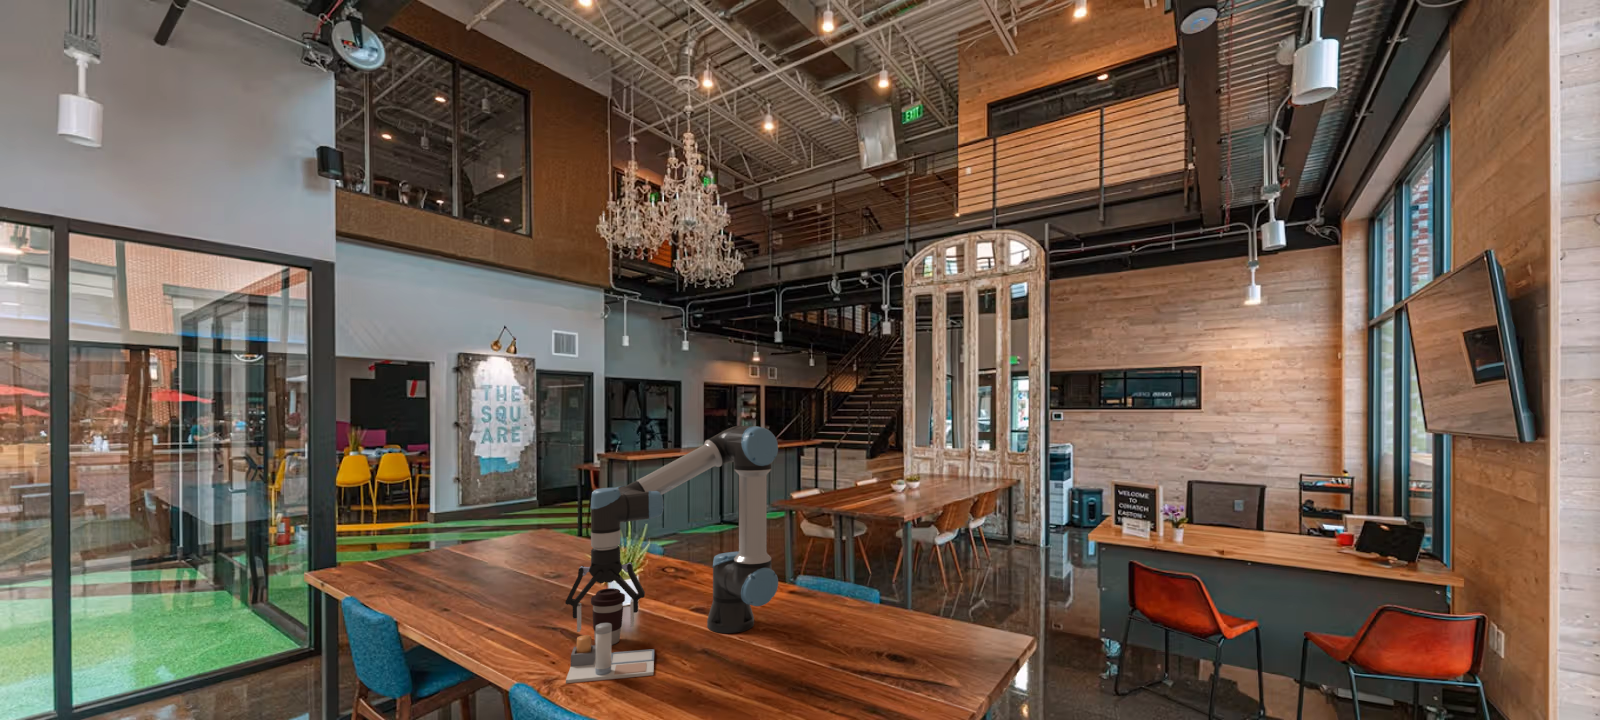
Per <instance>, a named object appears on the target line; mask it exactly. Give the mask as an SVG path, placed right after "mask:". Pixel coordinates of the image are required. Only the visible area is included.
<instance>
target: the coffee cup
mask: <svg viewBox="0 0 1600 720" xmlns="http://www.w3.org/2000/svg"><path fill="white" fill-rule="evenodd" d="M625 601H626V595H625V593H623V592H621V590H620V589H619V588H614V587H611V588H610V587H609V588H603V589H600V590H598V591H596V594H595V595H593V596H591V598H590V604H591V606H592V626H593V627H592V628H593V631H594V632H593V636H594V645H596V625H598V624H601V623H611V624H612V632H611V646H613V645H615V644H618V643H619V641H620V639H621V630H622V629H621V628H622V624H623V614H624V607H623V605H624V602H625Z"/></svg>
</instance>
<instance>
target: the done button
mask: <svg viewBox="0 0 1600 720" xmlns="http://www.w3.org/2000/svg"><path fill="white" fill-rule="evenodd" d="M591 645H592V636H591V635H589V634H587V635H585V634H584V635H580V636H577V638H576V647H577V654H578V653H590V652H591Z"/></svg>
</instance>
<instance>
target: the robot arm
mask: <svg viewBox="0 0 1600 720" xmlns="http://www.w3.org/2000/svg"><path fill="white" fill-rule="evenodd" d="M778 453H779V444H778V440H777V437H776V436H775V434H773V432H772V431H771V430H769V429H768V428H765V427H762V426H756V425H754V426H751V425H749V426H747V425H745V426H744V425H736V426H732V427H730V428H726V429H725V430H723V431H720V432H719V433H718V434H716V435H713V436H712V437H709V438H708V439H705V440H704V444H703V445H701V446H699V447H698V448H696V449H694V450H691V451H690V452H688V453H686V454H685V455H683V456H681V457H679V458H677V459H675V460H672V462H669V463H667V464H665V465H663V466H662V467H659V468H658V469H656V470H654V471H652V472H651V473H648V474H647V475H645V476H642V477H641V478H638V479H637V480H635V481H632V482H630V483H629V484H627V485H621V486H616V487H602V488H601V487H600V488H596V489H593V491H592V492H591V498H590V522H591V523H590V524H591V527H590V530H591V531H590V547H591V550H590V566H584V565H581V566H579V568H578V573H577V577H576V579H575V581H574V584H573V585H572V588H571V590H570V592H569V593H568V596H567V597H566V600H565V602H564V603H565V605H566V606H567V605H570V606H571V607H572V617H573V619H576V632H577V633H580V632H581V630H582V603H581V601H582V600H583V598H584V597H585V596H586V595H587V593H588V592H589V591H590V590H591V589H592V588H593V586H594V585H595V584H596V583H598V584H605V583H610V584H611V583H612V582H614V581H615V583H616V584H617V585H618V586H619V587H621V589H623V590H624V591H625V593H627V595H628V596H629V597H630V602H629V603H630V604H629V606H630V627H631V628H632V627H634V626H635V613H638V611H639V600H640V599H643V598H645V595H646V594H645V593H646V591H645V590H644V588H643V586H642V584H641V582H640V580H639V578H638V577H637V575H636V573H635V571H634V568H633V567H634V566H633V563H632V561H629V562H628V563H624V564H623V563H621V547H620V544H621V523H626V522H633V521H634V522H635V521H643V520H651V519H655V518H660V517H661V516H662V515H663V512H664V497H663V495H664V494H666V493H668V492H670V491H672V490H673V489H676V488H677V487H678V486H681V485H682V484H684V483H686V482H687V481H690V480H692V479H694V478H695V477H697V476H699V475H701V474H702V473H704V472H706V471H708V470H710V469H712V468H714V467H717V468H719V467H722V466H723V465H725V464H728V463H733V465H734V466H733V467H734V469H733V470H734V471H735V472H736V474H738V551H730V552H729V551H728V552H723V553H718V554H716V555H714V557H713V561H712V603H711V606H710V609H709V613H708V616H707V619H706V620H707V623H706V624H707V625H706V628H707V629H709V630H710V631H712V632H715V633H719V634H720V633H721V634H736V633H742V632H745V631H748V630H750V629H752V628H753V627H754V625H755V618H754V617H755V616H754V613H753V610H752V607H751V606H753V607H762V606H764V605H766V604H768V603H770V601H772V599H773V597H775V595H776V593H777V591H778V587H779V579H778V575H777V574H776V573H775V571H774V570H773V569H772V557H771V556H770V555H769V553H768V552H767V476H768V474H769V473H770V472H771V471H772V463H773V462H774V460H775V459H776V458H777V455H778ZM622 570H624V572H625V573H627V574H628V577H629V578H630V581H631V582H632V584H633V586H634V588H635V590H636V591H635V590H634V589H633V588H632V586H631V585H629V584H628V583H627V581H626V580H625V579H624V578H623V577H622V575H621V574H620V573H621V571H622ZM587 573H589V574H590V575H591V576H592V577H591V578H590V580H589V581H588V582H587V584H586V585H585V586H584V588H583V589H582V590H581V591H580V592H579V594H578V595H576V596H575V593H576V592H577V589H578V588H579V585H580V583H581V581H582V579H583V577H585V576H586V575H587ZM574 596H575V598H573V597H574Z"/></svg>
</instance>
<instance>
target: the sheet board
mask: <svg viewBox="0 0 1600 720" xmlns="http://www.w3.org/2000/svg"><path fill="white" fill-rule="evenodd" d="M571 651H572V652H571V653H570V667H569V671H568V673H567V675H566V679H565V684H571V683H572V684H574V683H584V682H596V681H604V680H615V679H618V680H619V679H627V678H635V677H637V678H638V677H647V676H648V677H649V676H650V677H651V676H654V671H655V669H654V668H655V667H654V666H655V665H654V663H655V648H652V649H639V650H628V651H627V650H626V651H615V652H614V651H613V652H611V672H610V673H609V674H606V675H597V674H596V673H595V667H596V644H594V645H593V644H591V652H590V653H578V654H577V646H573V649H572V650H571Z"/></svg>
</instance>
